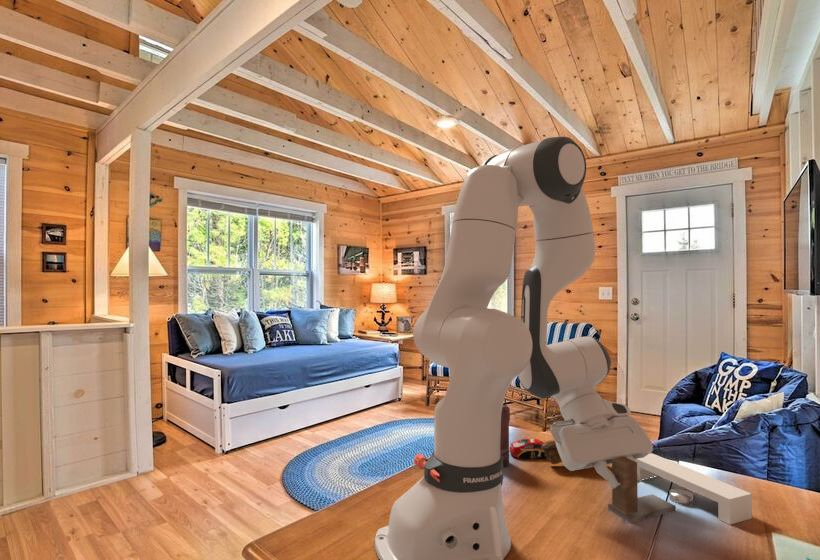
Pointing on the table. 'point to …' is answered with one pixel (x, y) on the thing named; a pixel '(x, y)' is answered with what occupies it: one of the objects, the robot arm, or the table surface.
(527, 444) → the race car
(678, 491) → the steel bowl
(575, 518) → the table surface
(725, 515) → the low shelf
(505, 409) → the can
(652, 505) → the brown l-shaped block
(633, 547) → the table surface
